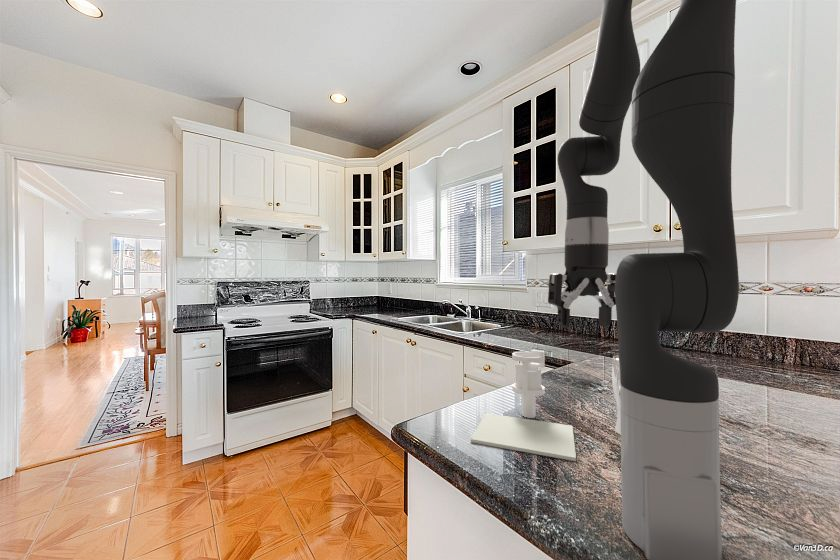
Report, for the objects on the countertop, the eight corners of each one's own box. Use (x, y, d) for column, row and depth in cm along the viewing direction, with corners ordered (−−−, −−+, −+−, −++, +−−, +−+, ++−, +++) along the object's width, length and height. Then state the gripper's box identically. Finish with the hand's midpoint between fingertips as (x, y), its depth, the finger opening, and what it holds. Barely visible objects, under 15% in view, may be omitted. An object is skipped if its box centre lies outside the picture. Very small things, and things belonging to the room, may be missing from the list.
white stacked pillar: (542, 424, 71) (541, 353, 72) (509, 417, 75) (508, 350, 75) (547, 413, 77) (546, 348, 78) (516, 407, 81) (516, 345, 81)
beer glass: (634, 443, 62) (633, 363, 63) (604, 428, 69) (603, 355, 69) (662, 439, 64) (661, 361, 64) (631, 424, 71) (630, 354, 71)
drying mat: (576, 461, 56) (576, 457, 56) (470, 442, 63) (470, 439, 63) (572, 428, 69) (572, 425, 69) (485, 415, 76) (485, 413, 76)
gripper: (563, 241, 59) (562, 331, 60) (634, 242, 62) (632, 329, 62) (541, 244, 67) (540, 324, 67) (605, 244, 69) (603, 322, 70)
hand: (584, 326), depth 65 cm, fingers open, 8 cm apart
